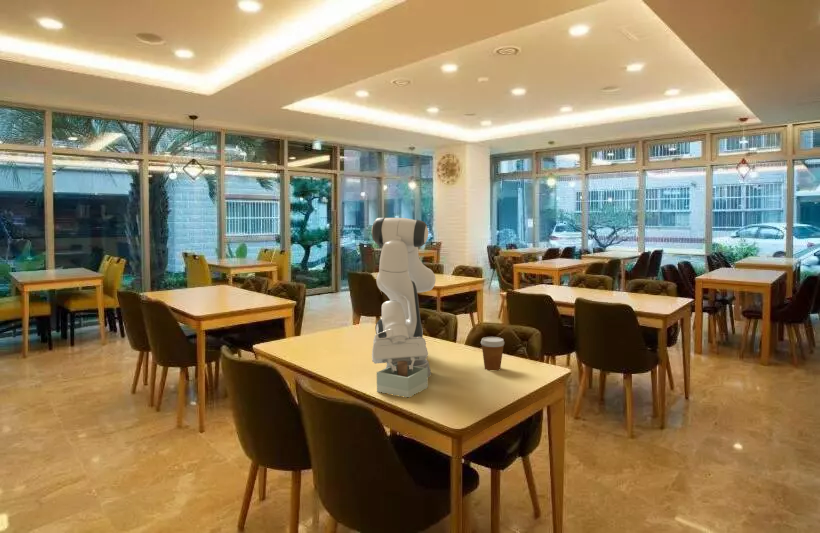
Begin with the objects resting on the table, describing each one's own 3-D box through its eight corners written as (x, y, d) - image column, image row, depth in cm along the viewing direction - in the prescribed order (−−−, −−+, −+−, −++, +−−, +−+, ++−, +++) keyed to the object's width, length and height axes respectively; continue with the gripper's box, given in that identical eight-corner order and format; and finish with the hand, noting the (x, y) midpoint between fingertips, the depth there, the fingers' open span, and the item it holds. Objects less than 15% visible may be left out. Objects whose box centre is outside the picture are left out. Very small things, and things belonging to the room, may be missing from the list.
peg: (395, 390, 186) (395, 362, 185) (401, 387, 189) (400, 360, 188) (404, 392, 184) (403, 364, 183) (409, 389, 187) (409, 361, 186)
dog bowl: (404, 365, 218) (403, 352, 217) (439, 373, 206) (439, 360, 206) (375, 375, 205) (375, 362, 204) (412, 384, 193) (412, 370, 192)
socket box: (376, 391, 184) (376, 372, 184) (397, 381, 195) (397, 363, 195) (408, 398, 177) (407, 378, 177) (427, 387, 188) (427, 368, 188)
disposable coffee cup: (486, 373, 205) (486, 342, 204) (476, 366, 214) (476, 337, 213) (508, 370, 208) (508, 341, 206) (498, 364, 217) (498, 335, 216)
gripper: (422, 340, 198) (429, 373, 190) (369, 344, 194) (373, 377, 185) (425, 331, 194) (432, 364, 185) (370, 334, 189) (375, 369, 181)
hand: (402, 371), depth 185 cm, fingers open, 5 cm apart
